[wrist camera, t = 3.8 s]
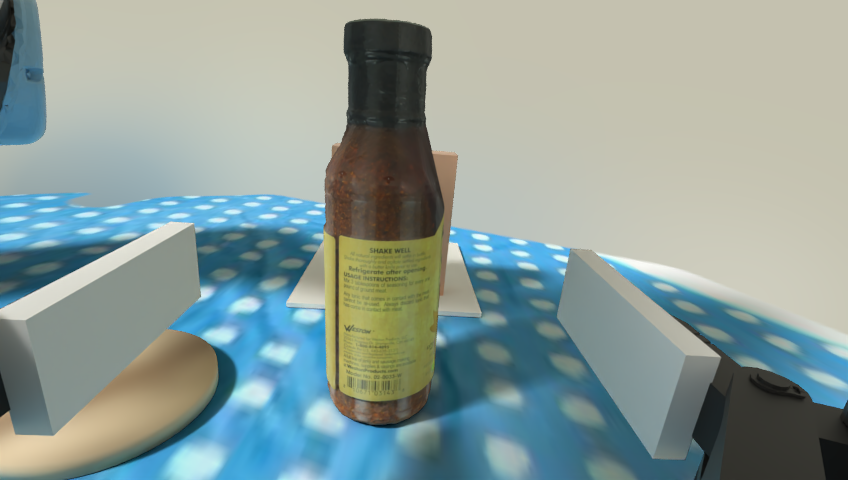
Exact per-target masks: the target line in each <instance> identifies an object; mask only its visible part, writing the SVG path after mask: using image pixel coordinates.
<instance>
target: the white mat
mask: <svg viewBox="0 0 848 480" xmlns="http://www.w3.org/2000/svg"><path fill="white" fill-rule="evenodd" d="M286 307H297V308H315V309H325V270H324V240H323V242H322V244H321V245H320V247H319V249H318V250H317V252H316V254H315V255H314V257H313V259H312V260H311V262H310V264H309V265H308V267H307V269H306V270H305V272H304V274H303V275H302V277H301V279H300V280H299V282H298V284H297V285H296V287H295V289H294V290H293V292H292V294H291V295H290V297H289V299H288V300H287V302H286ZM438 315H444V316H462V317H481V315H482V313H481V310H480V307H479V304H478V301H477V298H476V295H475V293H474V290H473V287H472V284H471V281H470V278H469V275H468V273H467V270H466V267H465V264H464V261H463V258H462V255H461V252H460V250H459V247H458V244H457V243H449V245H448V255H447V264H446V274H445V283H444V293H443V296H440V297H439V308H438Z"/></svg>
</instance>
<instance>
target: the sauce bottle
mask: <svg viewBox="0 0 848 480" xmlns="http://www.w3.org/2000/svg"><path fill="white" fill-rule="evenodd" d="M344 28H345V29H344V54H345V56H346V59H347V61H348V65H349V78H348V79H349V82H348V95H349V96H348V102H349V103H348V104H349V107H348V110H347V126H346V131H345V133H344V136H343V138H342V142H341V144H340V146H339V147H338V148H337V151H336V152H335V154H334V155H333V157H332V158H331V161H330V162H329V164H328V166H327V169H326V178H325V203H326V206H325V214H326V215H325V216H326V223H325V225H324V270H325V324H326V371H327V379H328V387H329V390H330V396H331V398H332V400H333V402H334V404H335V406H336V407H337V408H338V410H339V411H340V412H341V413H342V414H343V415H344V416H347V417H348V418H351V419H352V420H354V421H359V422H364V423H367V424H370V425H385V424H391V423H392V424H396V423H398V422H401V421H403V420H405V419H409V418H410V417H411V416H413V415H414V414H416V413H417V412H419V411H420V410H421V409H422V408H423V407H424V405H425V404H426V402H427V399H428V394H429V392H430V388H431V380H432V377H433V374H434V369H435V350H436V336H437V322H438V308H439V297H440V272H441V264H442V259H441V258H442V241H443V234H444V232H443V226H444V209H445V207H444V201H443V197H442V193H441V188H440V184H439V180H438V175H437V171H436V167H435V162H434V158H433V154H432V150H431V145H430V141H429V136H428V132H427V128H426V117H425V113H424V111H425V95H426V71H427V67H428V66H429V63H430V61H431V58H432V57H431V55H432V35H431V31H430V29H429V28H426V27H425V26H422V25H420V24H416V23H411V22H407V21H399V20H387V19H362V20H361V19H360V20H354V21H350V22H348V23H346V25H345V27H344Z"/></svg>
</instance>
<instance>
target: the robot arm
mask: <svg viewBox="0 0 848 480" xmlns="http://www.w3.org/2000/svg"><path fill="white" fill-rule="evenodd" d="M42 55H43V54H42V43H41V32H40V23H39V14H38V7H37V3H36V0H0V145H21V144H22V145H23V144H30V143H34V142H36V141H37V140H39V139H40V138H41V137H42V136H43V135H44V133H45V130H46V98H45V85H44V77H43V56H42ZM200 297H201V292H200V281H199V270H198V260H197V249H196V238H195V228H194V223H181V222H170V223H168V224H166V225H164V226H162V227H160V228H158V229H156V230H154V231H152V232H150V233H148V234H146V235H144V236H142V237H140V238H138V239H136V240H134V241H132V242H131V243H129V244H127V245H125V246H123V247H121V248H119V249H117V250H115V251H113V252H111V253H109V254H107V255H105V256H103V257H101V258H99V259H97V260H95V261H93V262H91V263H90V264H88V265H86V266H84V267H82V268H80V269H78V270H76V271H74V272H72V273H70V274H68V275H66V276H64V277H62V278H60V279H58V280H56V281H54V282H52V283H50V284H48V285H47V286H45V287H42V288H40V289H38V290H36V291H34V292H32V293H30V294H28V295H26V296H24V297H23V298H21V299H18V300H16V301H14V302H12V303H10V304H9V305H7V306H6V307H3V308H1V309H0V417H2V416H3V415H4V414H6V413H7V412H8V411H9V413H10V417H11V421H12V424H13V428H14V432H15V435H41V436H54V435H55V434H56V433H57V432H58V431H59V430H60V429H61V428H62V427H64V426H65V425H66V424H67V423H68V422H69V421H70V420H71V419H72V418H73V417H74V416H75V415H76V414H77V413H78V412H79V411H80V410H82V409H83V408H84V407H85V406H86V405H87V404H88V403H89V402H90V401H91V400H92V399H93V398H94V397H95V396H96V395H97V394H98V393H99V392H101V391H102V390H103V389H104V388H105V387H106V386H107V385H108V384H109V383H110V382H111V381H112V380H113V379H114V378H115V377H116V376H117V375H119V374H120V373H121V372H122V371H123V370H124V369H125V368H126V367H127V366H128V365H129V364H130V363H131V362H132V361H133V360H134V359H135V358H137V357H138V356H139V355H140V354H141V353H142V352H143V351H144V350H145V349H146V348H147V347H148V346H149V345H150V344H151V343H152V342H153V341H155V340H156V339H157V338H158V337H159V336H160V335H161V334H162V333H163V332H164V331H165V330H166V329H167V328H168V327H169V326H170V325H171V324H173V323H174V322H175V321H176V320H177V319H178V318H179V317H180V316H181V315H182V314H183V313H184V312H185V311H186V310H187V309H188V308H189V307H190V306H192V305H193V304H194V303H195V302H196V301H197V300H198V299H199V298H200ZM557 318H558V320H559V321H560V323H561V324H562V326H563V327H564V329H565V330H566V332H567V333H568V334H569V336H570V337H571V339H572V340H573V342H574V343H575V345H576V346H577V348H578V349H579V351H580V352H581V354H582V355H583V357H584V358H585V360H586V361H587V362H588V364H589V365H590V367H591V368H592V370H593V371H594V373H595V374H596V376H597V377H598V379H599V380H600V382H601V383H602V385H603V386H604V387H605V389H606V390H607V392H608V393H609V395H610V396H611V398H612V399H613V401H614V402H615V404H616V405H617V407H618V408H619V410H620V411H621V413H622V414H623V415H624V417H625V418H626V420H627V421H628V423H629V424H630V426H631V427H632V429H633V430H634V432H635V433H636V435H637V436H638V438H639V439H640V441H641V442H642V443H643V445H644V446H645V448H646V449H647V451H648V452H649V454H650V455H651V457H652V458H653V459H670V460H685V459H686V456H687V453H688V450H689V447H690V445H691V442H692V439H694V440H695V441H696V442H697V443H698V444H699V446H700V447H701V448H702V449H703V450H704V455H703V457H702V460H701V463H700V465H699V468H698V471H697V474H696V476H695V479H694V480H848V401H847V403H846V405H845V407H844V409H840V408H836V407H831V406H827V405H823V404H818V403H814V402H812V399H811V397H810V396H809V394H808V393H807V392H806V391H805V390H804V389H802V388H801V387H800V386H799V385H797V384H795V383H794V382H792V381H790V380H788V379H787V378H785V377H782V376H780V375H778V374H775V373H773V372H770V371H766V370H763V369H759V368H753V367H741V366H740V365H738V364H737V363H736V362H735V361H733V360H732V359H731V358H730V357H728V356H727V355H726V354H725V353H723V352H722V351H721V350H720V349H718V348H717V347H716V346H715V345H713V344H710V341H709V340H707V339H706V338H705V337H704V336H702V335H700V333H699V332H697V331H696V330H695V329H694V328H692V327H691V326H690V325H689V324H687V323H686V322H684V321H682V320H680V319H678V318H676V317H674V316H672V315H670V314H668V313H667V312H666V311H665V310H663V309H662V308H661V307H660V306H659V305H657V304H656V303H655V302H654V301H653V300H651V299H650V298H649V297H648V296H646V295H645V294H644V293H643V292H642V291H640V290H639V289H638V288H637V287H636V286H634V285H633V284H632V283H631V282H629V281H628V280H627V279H626V278H625V277H623V276H622V275H621V274H620V273H619V272H617V271H616V270H615V269H614V268H613V267H611V266H610V265H609V264H608V263H606V262H605V261H604V260H603V259H602V258H600V257H599V256H598V255H597V254H596V253H594V252H593V251H592V250H583V249H570V254H569V258H568V263H567V268H566V273H565V278H564V283H563V288H562V293H561V298H560V303H559V308H558V313H557Z"/></svg>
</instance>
